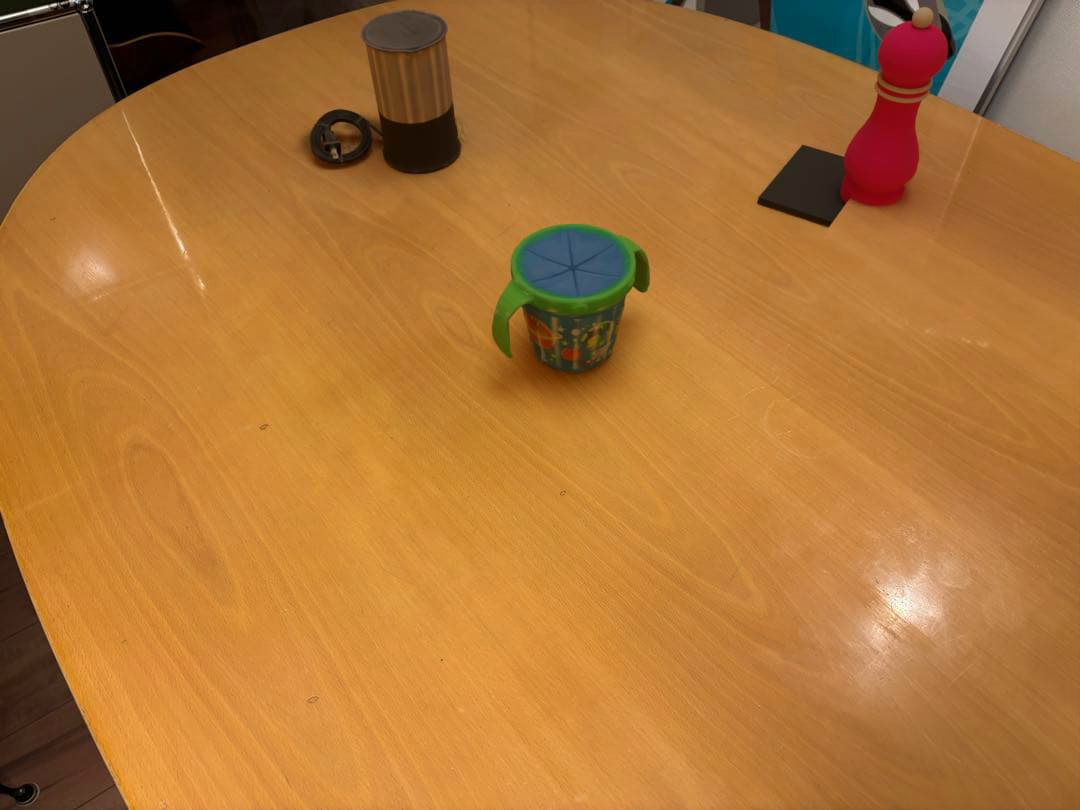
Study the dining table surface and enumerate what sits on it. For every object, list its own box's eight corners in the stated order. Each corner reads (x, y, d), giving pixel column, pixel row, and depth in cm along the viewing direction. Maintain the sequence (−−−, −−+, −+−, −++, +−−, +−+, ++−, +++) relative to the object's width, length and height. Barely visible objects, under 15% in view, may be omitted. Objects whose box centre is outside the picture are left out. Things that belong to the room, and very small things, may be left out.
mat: (979, 203, 92) (982, 197, 92) (945, 265, 86) (947, 259, 85) (801, 150, 100) (802, 144, 100) (757, 203, 94) (758, 197, 93)
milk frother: (476, 156, 101) (464, 31, 90) (355, 205, 96) (325, 78, 85) (417, 106, 110) (399, -14, 98) (302, 148, 104) (269, 25, 93)
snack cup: (616, 286, 85) (619, 199, 78) (676, 352, 79) (687, 264, 72) (472, 342, 81) (461, 255, 73) (524, 416, 75) (518, 330, 67)
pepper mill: (900, 179, 94) (961, -9, 79) (910, 219, 90) (976, 27, 75) (832, 176, 95) (878, -11, 80) (837, 215, 90) (888, 25, 75)
